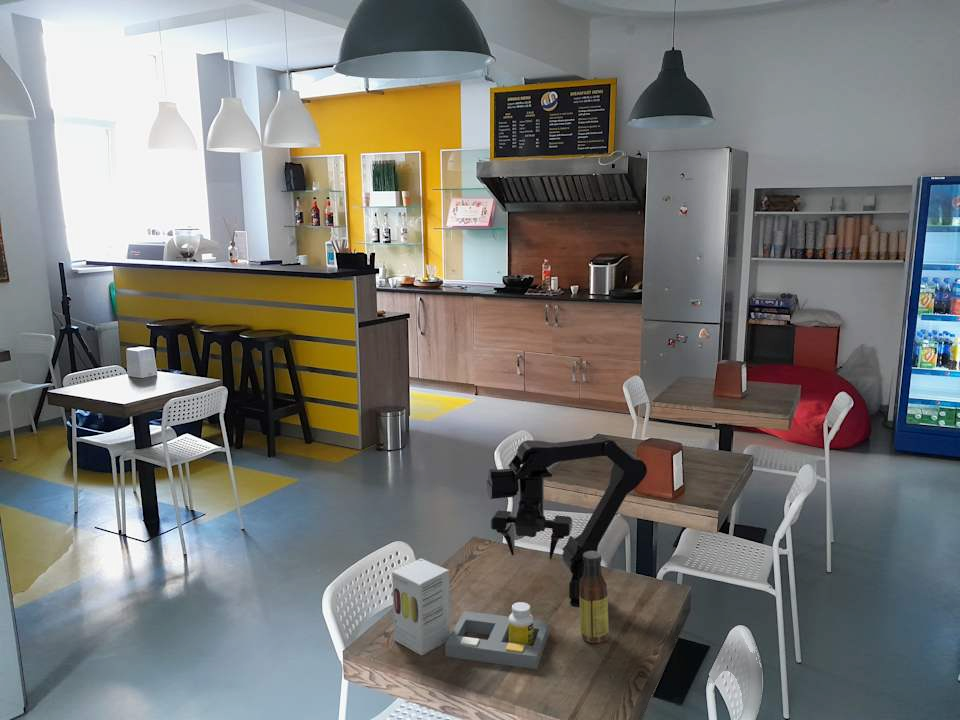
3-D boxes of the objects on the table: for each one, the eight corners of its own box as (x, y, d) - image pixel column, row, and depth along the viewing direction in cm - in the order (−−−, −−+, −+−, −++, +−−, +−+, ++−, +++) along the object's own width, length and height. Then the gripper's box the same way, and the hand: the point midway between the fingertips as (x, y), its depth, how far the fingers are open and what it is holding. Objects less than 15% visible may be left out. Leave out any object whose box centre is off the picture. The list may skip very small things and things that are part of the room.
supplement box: (393, 641, 165) (389, 571, 162) (422, 624, 171) (420, 556, 168) (422, 656, 158) (419, 584, 155) (452, 638, 165) (450, 569, 162)
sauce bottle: (610, 632, 166) (611, 550, 163) (605, 647, 161) (606, 562, 157) (581, 627, 169) (582, 546, 165) (576, 642, 163) (576, 558, 159)
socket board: (548, 633, 166) (548, 620, 166) (536, 669, 153) (536, 654, 152) (464, 622, 172) (463, 609, 171) (445, 656, 158) (445, 642, 158)
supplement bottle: (531, 656, 158) (531, 613, 156) (506, 653, 159) (506, 611, 157) (535, 642, 163) (534, 601, 161) (510, 639, 164) (510, 599, 163)
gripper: (484, 503, 168) (485, 567, 171) (565, 510, 163) (565, 576, 166) (496, 487, 179) (497, 547, 181) (572, 493, 174) (572, 555, 176)
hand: (531, 556), depth 176 cm, fingers open, 9 cm apart
